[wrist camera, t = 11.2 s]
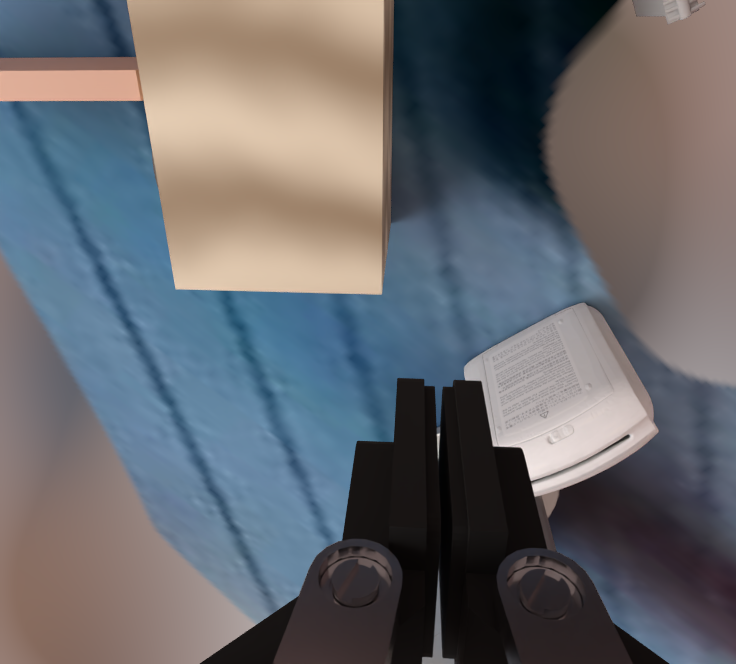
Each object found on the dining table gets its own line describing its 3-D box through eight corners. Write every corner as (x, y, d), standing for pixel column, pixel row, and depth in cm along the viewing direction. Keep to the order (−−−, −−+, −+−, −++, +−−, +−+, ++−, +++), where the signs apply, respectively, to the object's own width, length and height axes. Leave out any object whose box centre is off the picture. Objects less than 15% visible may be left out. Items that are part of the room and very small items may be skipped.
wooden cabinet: (390, 223, 38) (381, 294, 28) (215, 220, 39) (147, 288, 29) (396, -181, 29) (385, -283, 19) (164, -175, 29) (40, -269, 20)
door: (208, 56, 34) (135, 70, 25) (213, 101, 35) (145, 129, 26) (-45, 58, 35) (-199, 72, 26) (-32, 102, 36) (-175, 129, 27)
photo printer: (483, 405, 44) (506, 533, 33) (452, 363, 42) (465, 483, 32) (616, 337, 41) (688, 455, 30) (587, 289, 39) (652, 395, 28)
